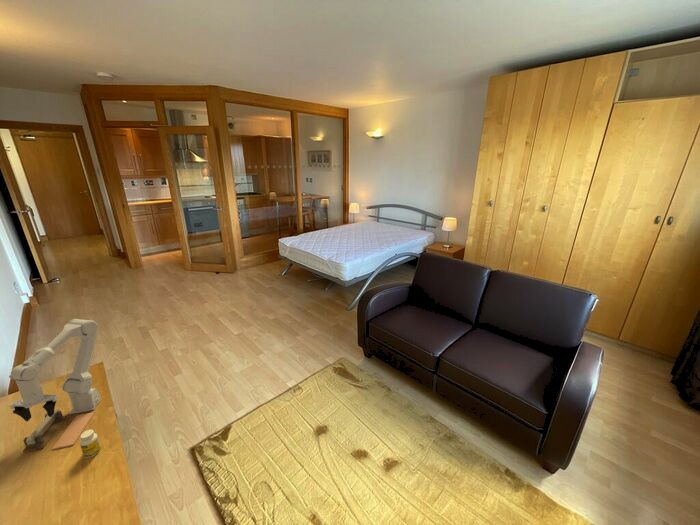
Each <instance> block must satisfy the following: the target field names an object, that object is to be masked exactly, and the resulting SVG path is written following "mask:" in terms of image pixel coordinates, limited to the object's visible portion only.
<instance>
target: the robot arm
mask: <svg viewBox="0 0 700 525" xmlns="http://www.w3.org/2000/svg"><path fill="white" fill-rule="evenodd" d="M98 326H99V324H98V323H97V322H96V321H95V320H93V319H90V320H89V319H81V318H80V319H79V318H73V319H70V320H69V321H68V322H67V323H66V324H64V326H63V329H62V331H60V332H59V334H57V335H56V336H55V337H54V338H53V339H52V340H51V341H50V343H49V344H47V346H45V347H42V348H39V349H37V350H35V351H34V353H33V354H32V355H30V357H28V358H27V359H26V360H24V361H23V362H22V363H21V364H19V365H16V366H15V367H13V368H12V369H11V371H10V375H9V376H8V377H9V378H10V379H11V380H13V381H15V383H16V385H17V388H18V390H19V394H20V397H21V399H20V400H15V401H12V402H11V403H10V404H9V407H10V410H13V409H14V410H13V411H12V413H13V414H14V415H17V416H19V417H21V418H22V419H23V420H24V421H25V422H29V421H30V420H31V418H32V412H31V410H30V408H32V407H33V406H36V405H39V404H42V403H44V404H43V406H42V408H43V409H44V410H45V411H46V413H47V414H48V416H49V417H52V416H53V414H54V410H56V409H55V407H56V405H57V404H56V403H57V401H58V399H60V397H59V394H44V392H43V388H42V386H41V382H40V380H39V377H38V376H39V374H40V371H41V369H42V368H43V367H44V365H46V364H47V363H48V362H49V361H50V360H51V359H52V358H54V356H55V351H56V350H58V349H60V347H61V346H63V345H64V344H66V343H67V341H69V340H70V339H71V338H75V337H79V338H80V343H79V347H78V351H77V355H76V359H75V362H74V367H73V370H72V372H71V373H70V374H68V375H67V376H66V379H65V381H64V382H63V384H62V387H61V389H62V391H63V392H65V393H66V392H67V394H68V397H69V400H70V403H71V406H72V409H71V410H70V412H69V413H68V414H69V415H75V414H80V413H85V412H89V411H94V410H95V409H96V407H97V406H98V404H99V402H100V401H101V400H102V399H101V398H102V397H100V393H99V391H98V388H96V387H95V388H94V387H93V388H92V386H93V375H92V374H91V373H90V372H89V370H90V366H91V362H92V359H93V358H92V357H93V354H94V349H95V346H96V342H97V339H98Z"/></svg>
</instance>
